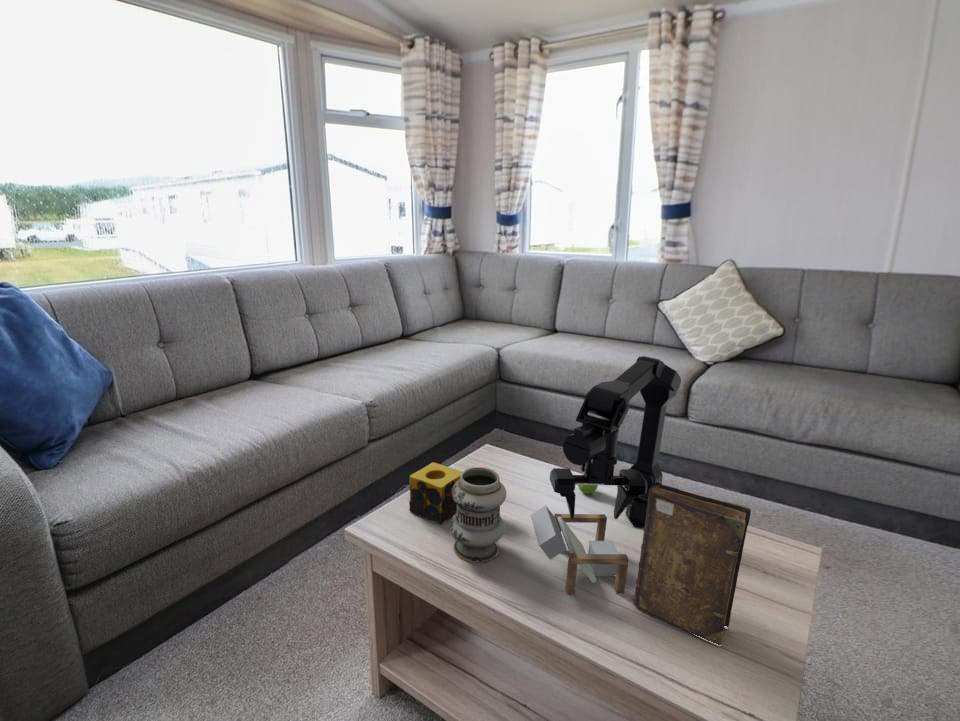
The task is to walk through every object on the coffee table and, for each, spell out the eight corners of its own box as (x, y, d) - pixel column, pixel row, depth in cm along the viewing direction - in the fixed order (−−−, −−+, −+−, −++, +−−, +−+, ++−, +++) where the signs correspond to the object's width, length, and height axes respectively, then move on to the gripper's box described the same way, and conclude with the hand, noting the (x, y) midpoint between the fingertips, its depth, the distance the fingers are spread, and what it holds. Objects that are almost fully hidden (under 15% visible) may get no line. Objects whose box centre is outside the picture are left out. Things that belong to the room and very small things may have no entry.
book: (628, 605, 101) (645, 489, 94) (643, 587, 106) (660, 475, 100) (719, 652, 91) (745, 525, 84) (730, 629, 96) (755, 508, 90)
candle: (465, 508, 132) (466, 472, 130) (441, 526, 124) (442, 488, 122) (433, 495, 138) (433, 460, 135) (408, 512, 129) (408, 475, 127)
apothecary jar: (451, 567, 109) (454, 490, 105) (446, 534, 121) (448, 463, 116) (508, 564, 111) (513, 488, 107) (497, 531, 123) (502, 461, 118)
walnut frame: (601, 545, 120) (605, 514, 117) (623, 593, 104) (628, 559, 102) (551, 545, 119) (554, 513, 117) (566, 593, 103) (570, 558, 101)
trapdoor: (563, 555, 118) (582, 543, 117) (576, 593, 106) (597, 580, 105) (529, 513, 114) (548, 501, 114) (539, 547, 102) (560, 534, 102)
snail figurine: (602, 491, 144) (607, 451, 141) (590, 499, 139) (594, 458, 136) (585, 484, 147) (589, 445, 144) (572, 491, 143) (577, 451, 140)
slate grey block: (587, 560, 114) (609, 560, 114) (593, 575, 109) (616, 575, 110) (589, 540, 113) (612, 540, 113) (596, 555, 108) (619, 555, 108)
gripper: (633, 433, 113) (624, 498, 117) (547, 431, 111) (542, 497, 115) (652, 456, 102) (642, 526, 106) (558, 454, 101) (551, 526, 105)
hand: (593, 518), depth 108 cm, fingers open, 9 cm apart
